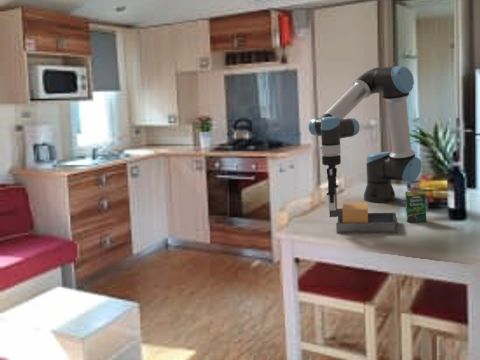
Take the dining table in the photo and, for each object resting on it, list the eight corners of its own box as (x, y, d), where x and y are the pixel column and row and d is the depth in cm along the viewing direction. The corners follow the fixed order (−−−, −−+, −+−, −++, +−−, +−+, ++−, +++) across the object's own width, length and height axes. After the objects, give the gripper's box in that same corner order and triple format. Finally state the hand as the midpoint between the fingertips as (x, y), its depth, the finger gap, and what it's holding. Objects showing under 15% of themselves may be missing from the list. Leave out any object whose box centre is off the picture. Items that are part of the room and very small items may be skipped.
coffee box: (406, 222, 237) (406, 192, 234) (405, 220, 239) (405, 190, 237) (426, 222, 235) (426, 191, 233) (425, 220, 238) (425, 190, 235)
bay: (336, 233, 229) (336, 223, 228) (338, 222, 244) (337, 213, 243) (397, 232, 223) (397, 223, 223) (395, 221, 239) (395, 212, 238)
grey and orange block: (329, 228, 231) (327, 191, 228) (330, 220, 242) (329, 185, 239) (368, 228, 227) (367, 190, 224) (367, 220, 239) (366, 184, 236)
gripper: (323, 150, 243) (325, 199, 247) (319, 160, 220) (322, 214, 224) (341, 150, 241) (343, 199, 245) (339, 159, 218) (341, 213, 223)
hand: (333, 206), depth 235 cm, fingers open, 11 cm apart
